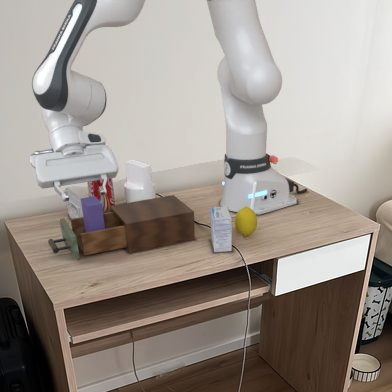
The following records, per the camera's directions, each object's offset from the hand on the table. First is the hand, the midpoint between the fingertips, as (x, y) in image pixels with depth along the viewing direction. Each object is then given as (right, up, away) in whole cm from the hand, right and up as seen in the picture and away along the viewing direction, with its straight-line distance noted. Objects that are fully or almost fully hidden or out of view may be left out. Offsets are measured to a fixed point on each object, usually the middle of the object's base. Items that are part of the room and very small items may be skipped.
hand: (85, 197), depth 133 cm
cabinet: (+16, -8, +7) cm, 20 cm away
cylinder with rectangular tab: (+11, +5, +27) cm, 29 cm away
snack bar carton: (+3, -10, +1) cm, 11 cm away
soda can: (0, +3, +25) cm, 25 cm away
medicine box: (+34, -12, +1) cm, 36 cm away
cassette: (-5, -2, +17) cm, 18 cm away
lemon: (+40, -9, +6) cm, 41 cm away
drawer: (+2, -12, +1) cm, 12 cm away
